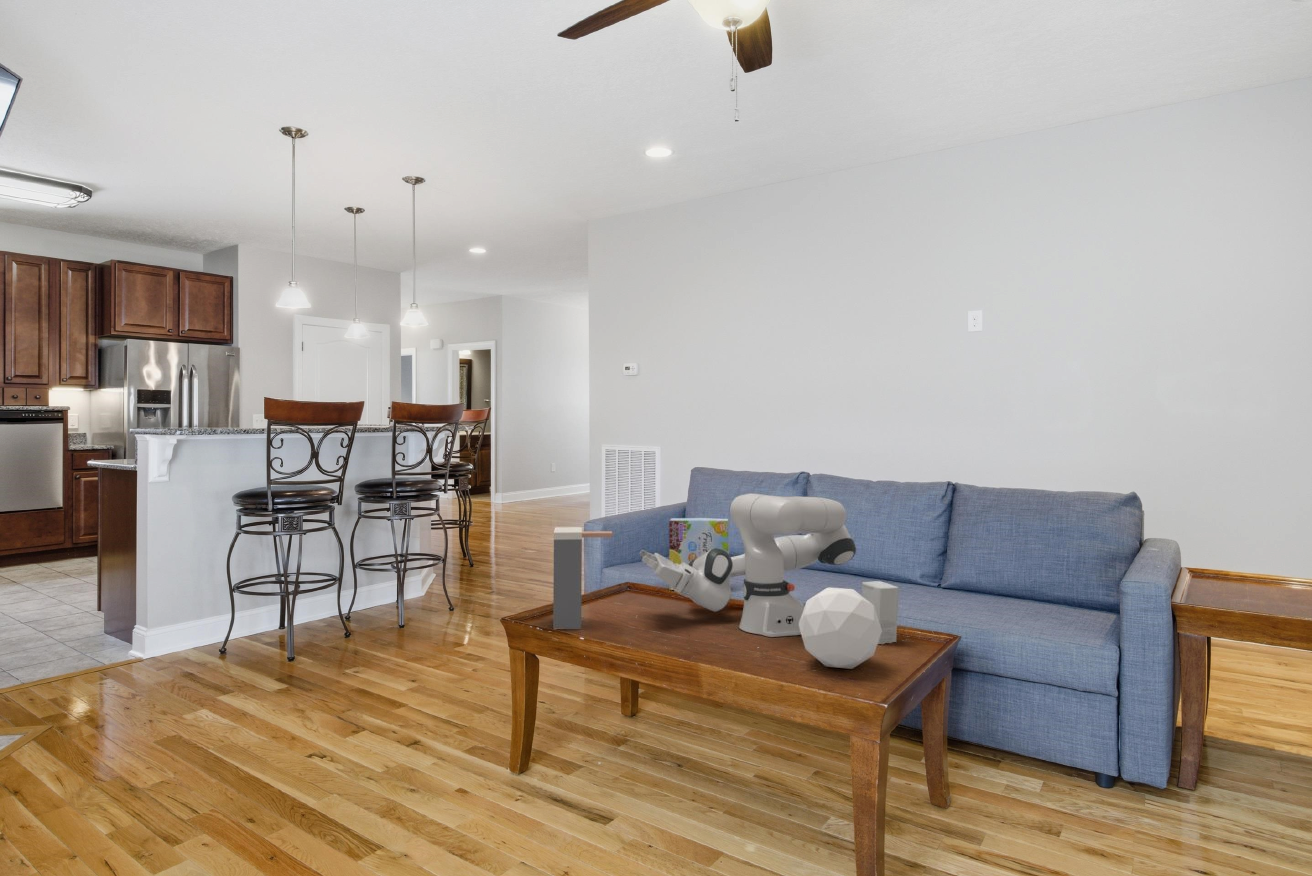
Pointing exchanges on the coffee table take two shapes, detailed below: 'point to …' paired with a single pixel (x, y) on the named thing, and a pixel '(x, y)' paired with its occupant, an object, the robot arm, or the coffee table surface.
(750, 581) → the robot arm
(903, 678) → the coffee table surface
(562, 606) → the carton
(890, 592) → the skincare box
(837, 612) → the geometric sculpture
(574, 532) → the lid
